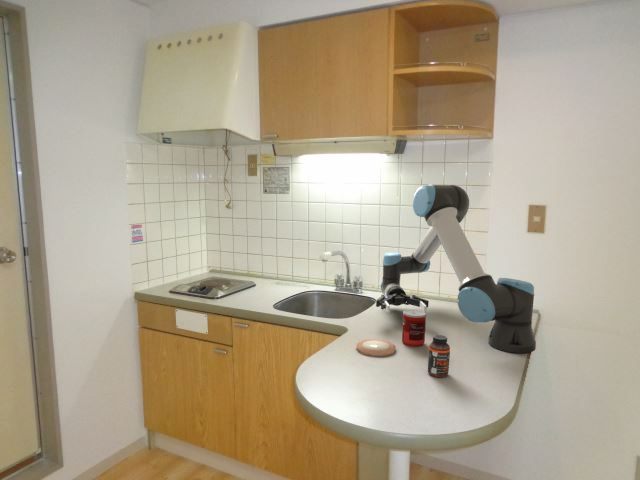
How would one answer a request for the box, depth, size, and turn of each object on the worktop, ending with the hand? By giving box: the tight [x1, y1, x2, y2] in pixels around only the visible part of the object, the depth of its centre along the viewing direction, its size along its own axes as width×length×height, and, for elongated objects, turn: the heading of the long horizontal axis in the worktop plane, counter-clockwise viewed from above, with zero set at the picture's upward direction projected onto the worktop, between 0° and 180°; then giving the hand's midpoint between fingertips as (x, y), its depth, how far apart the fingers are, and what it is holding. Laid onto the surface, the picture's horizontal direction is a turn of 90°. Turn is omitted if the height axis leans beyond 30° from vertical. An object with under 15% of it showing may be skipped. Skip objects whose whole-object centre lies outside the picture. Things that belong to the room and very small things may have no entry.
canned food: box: [401, 309, 427, 348], centre depth 161 cm, size 8×8×11 cm
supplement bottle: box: [427, 334, 451, 378], centre depth 136 cm, size 6×6×11 cm
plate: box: [355, 338, 397, 357], centre depth 156 cm, size 13×13×1 cm
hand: (406, 309), depth 171 cm, fingers open, 13 cm apart
